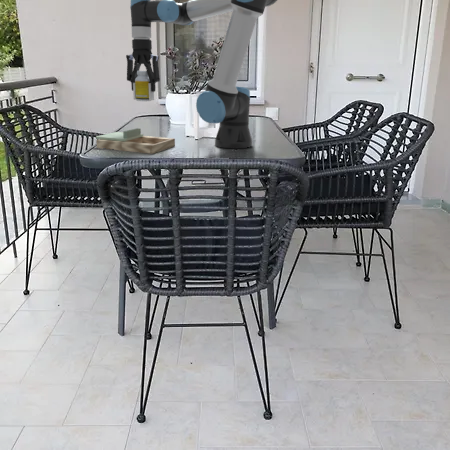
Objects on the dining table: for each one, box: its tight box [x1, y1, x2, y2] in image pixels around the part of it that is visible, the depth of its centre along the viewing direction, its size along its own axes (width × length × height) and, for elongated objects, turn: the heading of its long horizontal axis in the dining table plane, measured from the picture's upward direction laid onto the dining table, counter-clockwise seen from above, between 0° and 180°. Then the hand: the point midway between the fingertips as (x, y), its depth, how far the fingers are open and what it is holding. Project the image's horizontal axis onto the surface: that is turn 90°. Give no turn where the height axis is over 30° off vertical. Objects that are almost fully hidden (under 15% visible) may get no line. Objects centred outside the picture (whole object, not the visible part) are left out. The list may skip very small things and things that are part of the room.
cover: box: [95, 127, 144, 141], centre depth 186 cm, size 13×14×3 cm
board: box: [95, 135, 176, 155], centre depth 185 cm, size 24×18×3 cm
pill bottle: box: [135, 70, 152, 102], centre depth 192 cm, size 6×6×12 cm
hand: (143, 99), depth 194 cm, fingers closed on pill bottle, 6 cm apart
